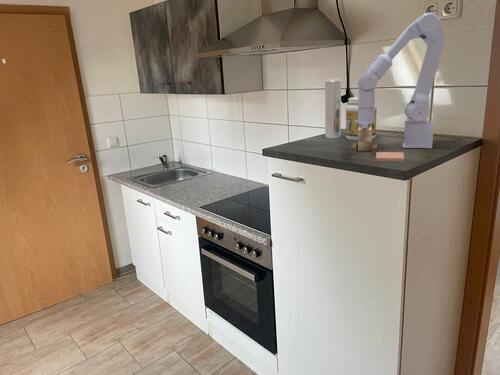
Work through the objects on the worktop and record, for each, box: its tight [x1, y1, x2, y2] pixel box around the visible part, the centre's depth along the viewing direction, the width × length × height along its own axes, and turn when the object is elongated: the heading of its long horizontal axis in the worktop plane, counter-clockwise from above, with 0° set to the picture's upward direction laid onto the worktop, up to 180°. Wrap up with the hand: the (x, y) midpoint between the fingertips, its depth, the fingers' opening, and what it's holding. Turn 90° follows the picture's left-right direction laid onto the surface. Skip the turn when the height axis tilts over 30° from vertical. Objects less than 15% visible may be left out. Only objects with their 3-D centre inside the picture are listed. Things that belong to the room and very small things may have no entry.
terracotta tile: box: [375, 151, 405, 162], centre depth 125 cm, size 8×9×1 cm
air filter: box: [324, 78, 342, 139], centre depth 166 cm, size 6×6×25 cm
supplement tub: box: [345, 96, 378, 141], centre depth 160 cm, size 12×12×17 cm
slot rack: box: [350, 140, 379, 156], centre depth 138 cm, size 8×14×2 cm, turn 161°
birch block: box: [357, 125, 373, 152], centre depth 138 cm, size 4×4×8 cm
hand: (365, 145), depth 143 cm, fingers closed
